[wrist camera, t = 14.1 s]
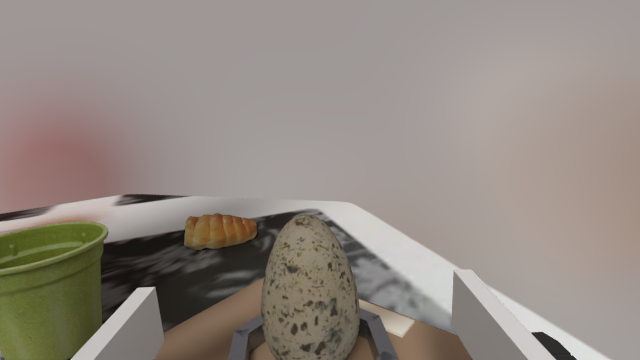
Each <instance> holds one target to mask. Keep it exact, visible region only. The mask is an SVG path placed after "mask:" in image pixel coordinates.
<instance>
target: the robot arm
mask: <svg viewBox="0 0 640 360" xmlns="http://www.w3.org/2000/svg"><path fill="white" fill-rule="evenodd" d="M452 327H453V329H454V330H455V332H456V333H457V335H458V337H459V338H460V340H461V341H462V343H463V345H464V346H465V348H466V350H467V351H468V353H469V354H470V356H471V358H472V359H473V360H577V359H576V358H575V357H574V356H571V354H570V352H569V351H568V350H567V349H565V348H564V347H563V346H562V345H561V344H560V343H559V342H558V341H557V340H555V339H553V338H552V337H550V336H548V335H547V334H545V333H543V332H534V333H530V332H529V330H528V329H527V328H526V327H525V326H524V325H523V324H522V323H521V322H520V321H519V320H518V319H517V318H516V317H515V316H514V315H513V313H512V312H511V311H510V310H509V309H508V308H507V307H506V306H505V305H504V304H503V303H502V302H501V301H500V300H499V299H498V298H497V296H496V295H495V294H494V293H493V292H492V291H491V290H490V289H489V288H488V287H487V286H486V285H485V284H484V283H483V282H482V281H481V279H480V278H479V277H478V276H477V275H476V274H475V273H474V272H473V271H472V270H471V269H470V270H454V277H453V301H452ZM164 342H165V340H164V334H163V329H162V323H161V317H160V311H159V305H158V300H157V294H156V288H155V287H143V288H137V289H136V290H135V291H134V292H133V293H132V294H131V295H130V297H129V298H128V299H127V300H126V301H125V302H124V303H123V304H122V305H121V306H120V307H119V308H118V309H117V310H116V312H115V313H114V314H113V315H112V316H111V317H110V318H109V319H108V320H107V321H106V322H105V323H104V324H103V325H102V326H101V328H100V329H99V330H98V331H97V332H96V333H95V334H94V335H93V336H92V337H91V338H90V339H89V340H88V341H87V343H86V344H85V345H84V346H83V347H82V348H81V349H80V350H79V351H78V352H77V353H76V354H75V355H74V356H73V357H72V359H71V360H154V358H155V357H156V355H157V353H158V352H159V350H160V348H161V347H162V345H163V344H164Z"/></svg>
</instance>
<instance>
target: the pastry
mask: <svg viewBox="0 0 640 360" xmlns="http://www.w3.org/2000/svg"><path fill="white" fill-rule="evenodd" d="M256 235H257V225H256V222H254V221H252V220H249V219H247V218H241V217H236V216H231V215H221V214H218V213H217V214H214V215H203V216H201V217H189V218H188V219H187V221H186V227H185V242H184V245H185V246H186V247H188V248H191V249H193V250H202V249H203V248H210V249H217V248H221V247H227V246H232V245H236V244H241V243H244V242H246V241H248V240H251V239H254V237H255V236H256Z"/></svg>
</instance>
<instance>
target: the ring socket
mask: <svg viewBox="0 0 640 360" xmlns="http://www.w3.org/2000/svg"><path fill="white" fill-rule="evenodd" d="M358 336H360V337H362V338H364V339H367V341H368V344H369V347H370V349H371V352H372V355H373V358H374V360H399V358H398V356H397V354H396V352H395V350H394V347H393V345H392V343H391V341H390V338H389V336H388V334H387V332H386V329H385V327H384V325H383V323H382V320H381V318H380V316H379V315H377V314H374V313H372V312H369V311H367V310H364V309H362V308H360V323H359V331H358ZM265 342H266V340H265V336H264V332H263V328H262V321H261V314H260V315H258V316H256V317H255V318H253V319H252V320H250V321H249V322H247V323H246V324H244V325H243V326H241V327H240V328H238V329H236V330H235V331H234V335H233V339H232V344H231V348H230V353H229V357H228V360H250V355H251V352H252V351H254V350H255V349H256V348H258V347H259V346H261V345H262V344H263V343H265Z"/></svg>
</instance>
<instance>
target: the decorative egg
mask: <svg viewBox="0 0 640 360" xmlns="http://www.w3.org/2000/svg"><path fill="white" fill-rule="evenodd" d="M261 321H262V328H263V332H264V336H265V340H266V342H267V345H268V347H269V349H270V351H271V353H272V354H273V356H274V357H275V359H276V360H346V359H347V358H348V356H349V355H350V353H351V351H352V349H353V347H354V345H355V342H356V339H357V335H358V331H359V323H360V307H359V299H358V293H357V287H356V283H355V280H354V276H353V273H352V270H351V267H350V265H349V262H348V260H347V257H346V255H345V252H344V250H343V248H342V246H341V244H340V243H339V241H338V240H337V238H336V236H335V235H334V233H333V232H332V231H331V229H330V228H329V227H328V226H327V225H326V224H325V223H324V222H323V221H322V220H320V219H319V218H317V217H315V216H312V215H299V216H297V217H295V218H293V219H291V220H290V221H289V222H288V223H287V224H286V225H285V226H284V227H283V229H282V230H281V232H280V233H279V235H278V237H277V239H276V241H275V243H274V246H273V248H272V251H271V254H270V257H269V260H268V264H267V268H266V272H265V277H264V282H263V288H262V296H261Z"/></svg>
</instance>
